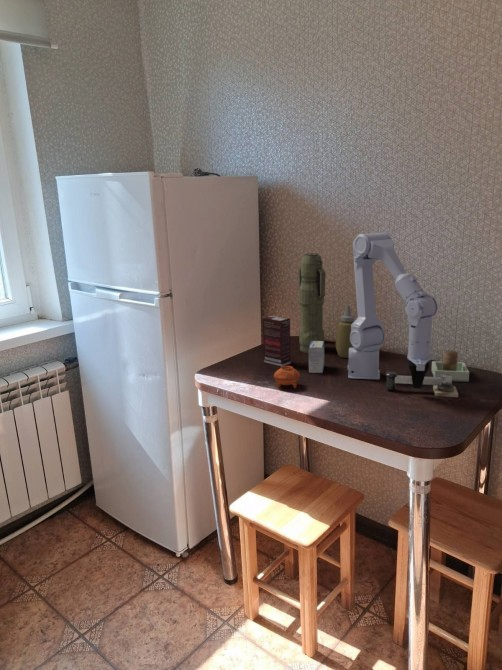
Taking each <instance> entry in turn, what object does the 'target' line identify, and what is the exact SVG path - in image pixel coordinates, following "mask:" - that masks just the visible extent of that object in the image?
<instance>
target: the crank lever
mask: <svg viewBox="0 0 502 670" xmlns="http://www.w3.org/2000/svg"><path fill="white" fill-rule="evenodd" d="M399 375H400V374H398V373H397V372H396V371H386V372H385V376H386V378H385V380H386V381H385V389H386V390H388V391H394V390H396V384H403V385H404V384H405V385H407V384H409V385H413V383H412V375H401V376H399ZM452 383H453V381H452V375H450V374H441V377H434V376H425V377H424V380H423V384H422V385H428V386H433V385H441V386H445V387H450V386H451V385H453V384H452Z"/></svg>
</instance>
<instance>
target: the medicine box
mask: <svg viewBox="0 0 502 670" xmlns="http://www.w3.org/2000/svg"><path fill="white" fill-rule="evenodd" d="M324 368H325V340H324V341H311V344H310V347H309V353H308V372H309V373H311V374H323V372H324Z"/></svg>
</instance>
